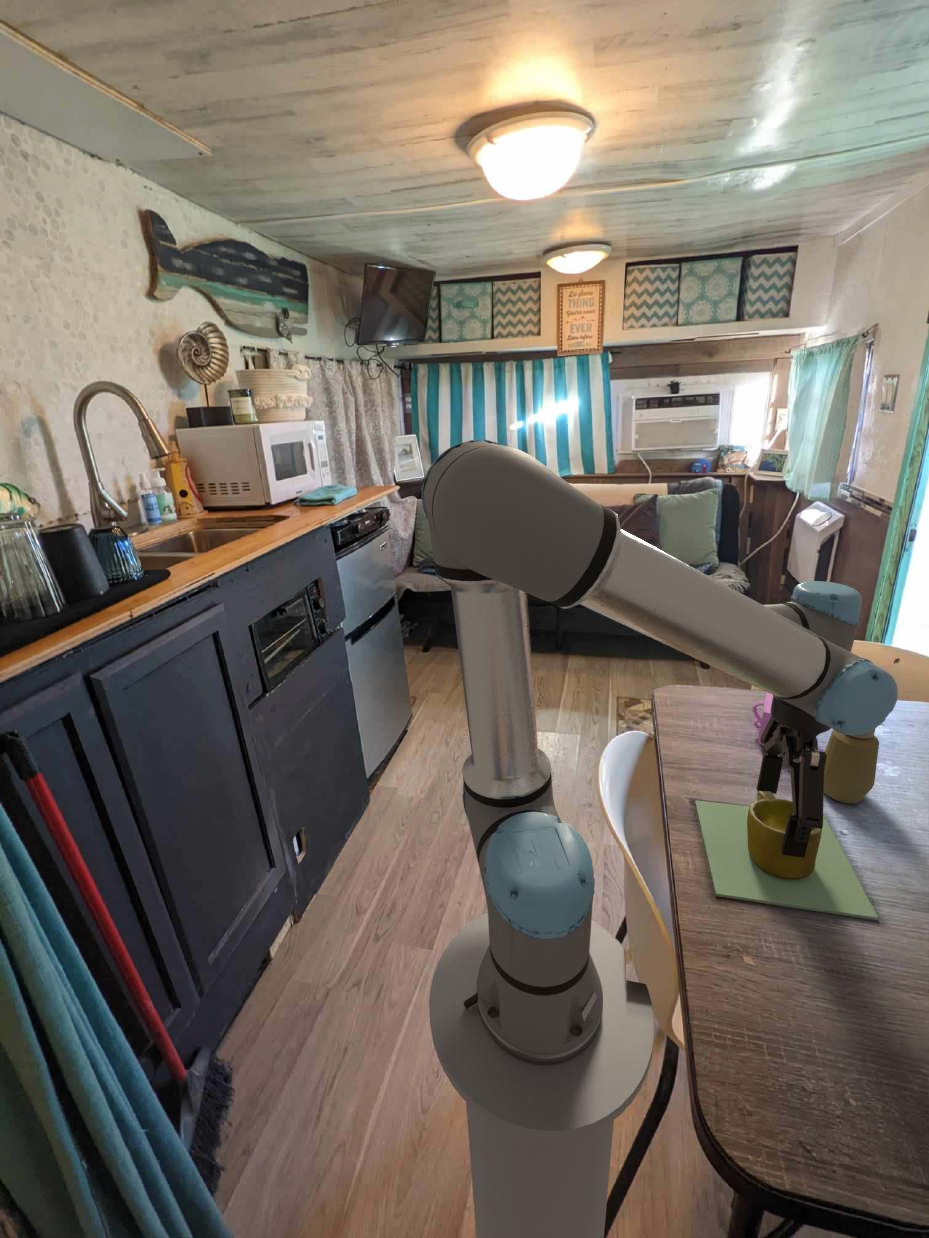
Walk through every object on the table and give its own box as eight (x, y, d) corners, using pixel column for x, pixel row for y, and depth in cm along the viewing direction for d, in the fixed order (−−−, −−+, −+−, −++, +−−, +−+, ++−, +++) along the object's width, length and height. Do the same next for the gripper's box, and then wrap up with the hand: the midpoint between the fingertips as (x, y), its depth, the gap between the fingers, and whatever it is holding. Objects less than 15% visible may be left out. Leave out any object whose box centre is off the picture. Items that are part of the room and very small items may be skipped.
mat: (715, 896, 77) (716, 893, 77) (694, 802, 95) (695, 800, 95) (877, 920, 72) (878, 917, 72) (823, 817, 90) (824, 814, 90)
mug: (841, 888, 74) (824, 820, 74) (759, 891, 78) (742, 827, 78) (818, 839, 86) (802, 780, 85) (747, 845, 90) (732, 788, 89)
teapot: (823, 776, 100) (833, 730, 96) (743, 757, 106) (750, 713, 103) (822, 728, 114) (831, 687, 111) (752, 714, 121) (758, 674, 117)
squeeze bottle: (811, 797, 95) (831, 707, 88) (817, 773, 101) (836, 687, 94) (868, 815, 90) (893, 722, 84) (870, 789, 96) (894, 699, 90)
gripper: (879, 750, 62) (839, 891, 69) (806, 658, 84) (781, 772, 92) (805, 743, 63) (774, 882, 71) (753, 655, 86) (733, 767, 94)
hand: (778, 820), depth 81 cm, fingers open, 13 cm apart
